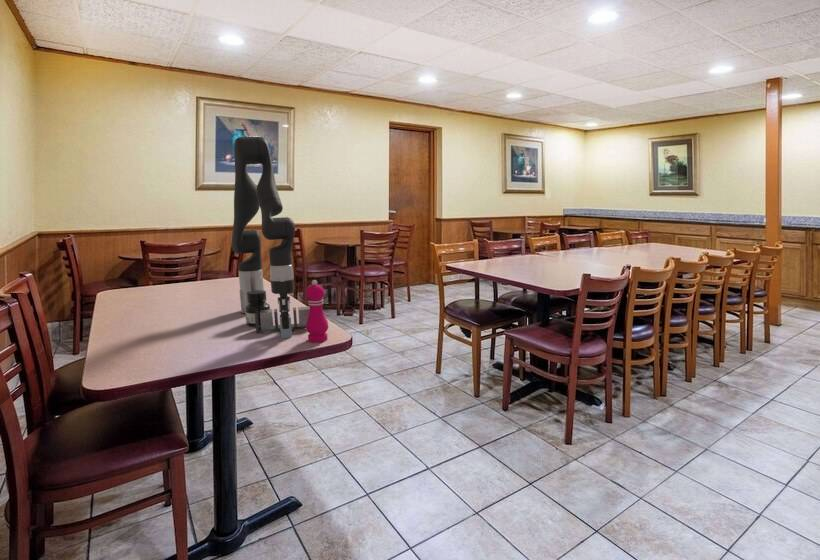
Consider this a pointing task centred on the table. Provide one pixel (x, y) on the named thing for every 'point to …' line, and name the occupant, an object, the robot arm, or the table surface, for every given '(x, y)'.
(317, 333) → the pepper mill
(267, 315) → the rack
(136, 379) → the table surface
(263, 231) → the robot arm
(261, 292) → the ink bottle
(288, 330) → the light grey block
